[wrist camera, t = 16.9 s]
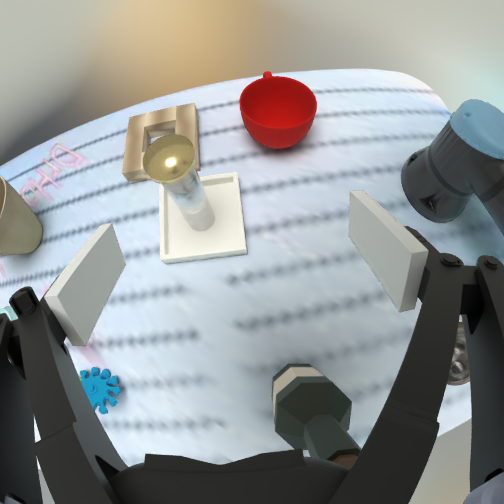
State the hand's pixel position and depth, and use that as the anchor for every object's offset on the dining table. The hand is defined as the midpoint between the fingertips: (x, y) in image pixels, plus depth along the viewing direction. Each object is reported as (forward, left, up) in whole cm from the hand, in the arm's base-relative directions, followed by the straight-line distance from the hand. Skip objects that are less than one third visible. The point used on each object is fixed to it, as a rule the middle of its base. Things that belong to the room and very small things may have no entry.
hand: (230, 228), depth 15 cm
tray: (+7, -14, -32) cm, 35 cm away
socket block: (+14, -31, -32) cm, 46 cm away
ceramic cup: (-8, -32, -32) cm, 46 cm away
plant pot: (+47, -17, -32) cm, 59 cm away
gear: (+29, +14, -32) cm, 45 cm away
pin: (+7, -14, -31) cm, 34 cm away
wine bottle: (-5, +15, -32) cm, 36 cm away
